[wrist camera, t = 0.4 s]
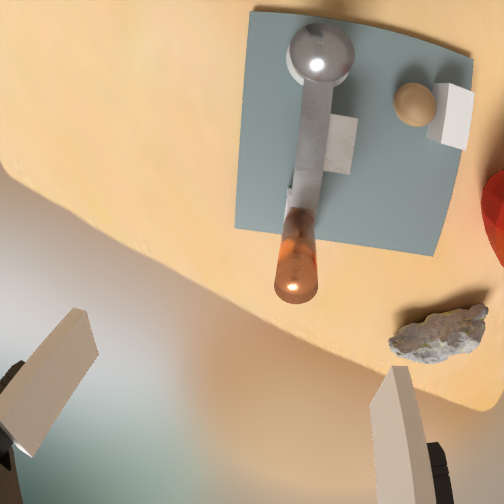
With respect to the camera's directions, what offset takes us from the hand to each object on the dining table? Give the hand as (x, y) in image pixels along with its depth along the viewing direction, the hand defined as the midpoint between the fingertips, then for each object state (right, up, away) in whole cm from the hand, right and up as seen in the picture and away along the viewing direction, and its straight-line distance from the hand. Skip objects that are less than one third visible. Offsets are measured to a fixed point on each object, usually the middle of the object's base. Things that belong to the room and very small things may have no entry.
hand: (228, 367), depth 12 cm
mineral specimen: (+28, -6, +27) cm, 40 cm away
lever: (+7, +16, +17) cm, 24 cm away
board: (+12, +17, +18) cm, 27 cm away
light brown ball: (+17, +20, +14) cm, 29 cm away
